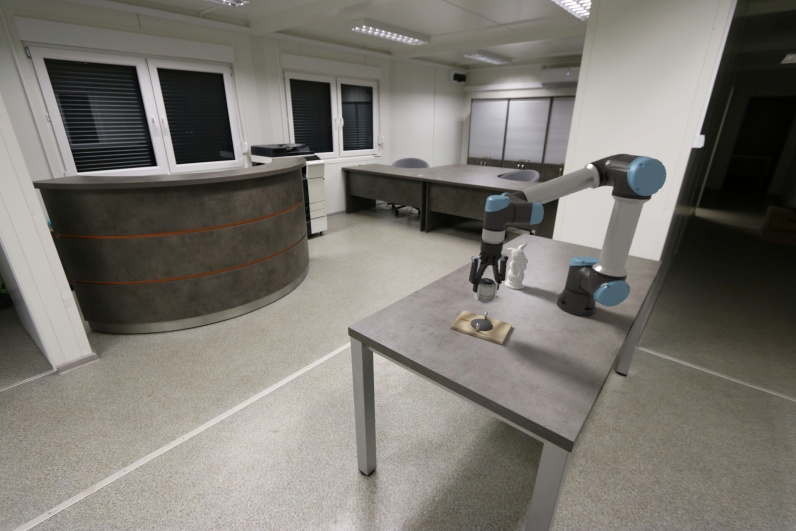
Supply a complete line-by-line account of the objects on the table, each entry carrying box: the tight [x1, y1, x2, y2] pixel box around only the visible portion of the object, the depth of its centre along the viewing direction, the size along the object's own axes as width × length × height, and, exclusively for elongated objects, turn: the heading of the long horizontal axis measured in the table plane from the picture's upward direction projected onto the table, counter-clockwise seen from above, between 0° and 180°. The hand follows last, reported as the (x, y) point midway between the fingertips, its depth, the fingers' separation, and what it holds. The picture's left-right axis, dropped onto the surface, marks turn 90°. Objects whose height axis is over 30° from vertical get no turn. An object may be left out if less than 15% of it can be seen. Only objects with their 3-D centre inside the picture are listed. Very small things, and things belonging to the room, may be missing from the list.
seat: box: [471, 319, 493, 331], centre depth 136 cm, size 8×8×1 cm
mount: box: [450, 310, 513, 345], centre depth 136 cm, size 20×14×1 cm
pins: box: [476, 311, 489, 332], centre depth 135 cm, size 1×11×3 cm, turn 150°
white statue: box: [504, 240, 529, 291], centre depth 169 cm, size 12×12×22 cm
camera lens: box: [478, 277, 495, 303], centre depth 130 cm, size 6×6×8 cm
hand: (484, 298), depth 131 cm, fingers closed on camera lens, 6 cm apart
